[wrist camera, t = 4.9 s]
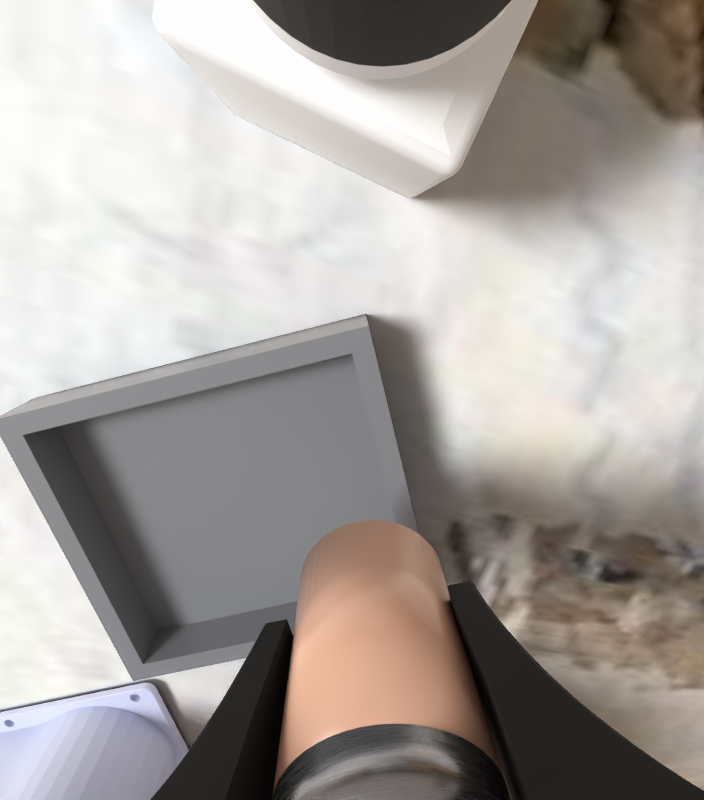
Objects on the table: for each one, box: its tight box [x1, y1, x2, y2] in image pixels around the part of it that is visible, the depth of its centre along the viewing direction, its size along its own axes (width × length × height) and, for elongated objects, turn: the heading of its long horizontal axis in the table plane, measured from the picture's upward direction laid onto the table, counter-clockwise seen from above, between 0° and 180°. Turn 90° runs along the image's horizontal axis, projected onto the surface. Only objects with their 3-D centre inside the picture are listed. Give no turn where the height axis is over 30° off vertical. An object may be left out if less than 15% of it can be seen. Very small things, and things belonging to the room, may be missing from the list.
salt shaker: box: [272, 520, 510, 800], centre depth 11 cm, size 4×4×8 cm
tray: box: [0, 314, 419, 681], centre depth 20 cm, size 14×13×2 cm
